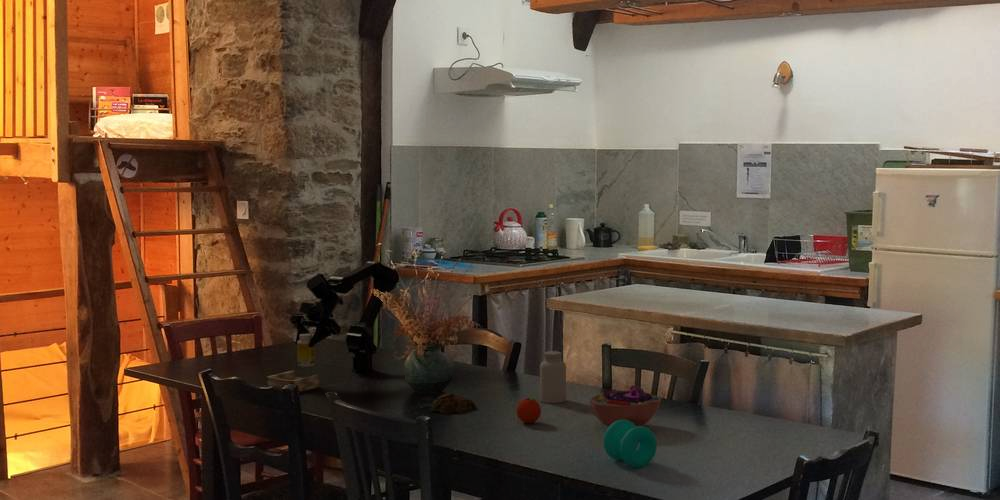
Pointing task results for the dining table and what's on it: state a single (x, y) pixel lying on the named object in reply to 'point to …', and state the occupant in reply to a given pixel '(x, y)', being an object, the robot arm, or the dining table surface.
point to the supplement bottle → (305, 351)
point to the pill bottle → (552, 378)
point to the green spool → (630, 443)
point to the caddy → (293, 380)
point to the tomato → (528, 410)
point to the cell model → (625, 406)
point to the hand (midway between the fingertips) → (302, 345)
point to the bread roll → (452, 404)
